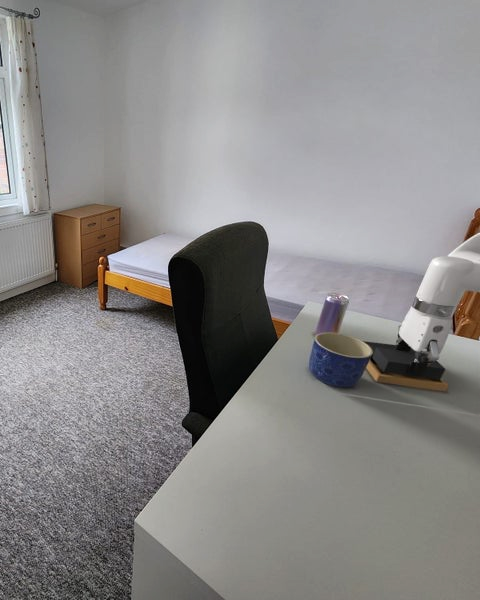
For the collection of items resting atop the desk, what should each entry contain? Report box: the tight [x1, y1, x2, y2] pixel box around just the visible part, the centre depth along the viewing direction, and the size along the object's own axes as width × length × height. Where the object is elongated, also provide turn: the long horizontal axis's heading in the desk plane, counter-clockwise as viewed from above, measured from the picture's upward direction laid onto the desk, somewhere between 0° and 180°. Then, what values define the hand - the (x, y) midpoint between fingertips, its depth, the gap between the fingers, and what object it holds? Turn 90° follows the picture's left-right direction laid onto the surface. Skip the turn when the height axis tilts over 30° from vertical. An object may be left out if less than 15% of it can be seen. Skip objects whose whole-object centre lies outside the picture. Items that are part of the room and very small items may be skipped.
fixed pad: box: [362, 340, 415, 365], centre depth 99 cm, size 12×7×4 cm, turn 73°
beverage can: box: [314, 293, 350, 336], centre depth 109 cm, size 6×6×15 cm
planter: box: [308, 332, 373, 388], centre depth 91 cm, size 12×12×11 cm
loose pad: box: [372, 348, 446, 380], centre depth 91 cm, size 12×7×4 cm, turn 73°
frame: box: [366, 360, 449, 392], centre depth 96 cm, size 15×17×2 cm
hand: (405, 365), depth 91 cm, fingers closed on loose pad, 7 cm apart
